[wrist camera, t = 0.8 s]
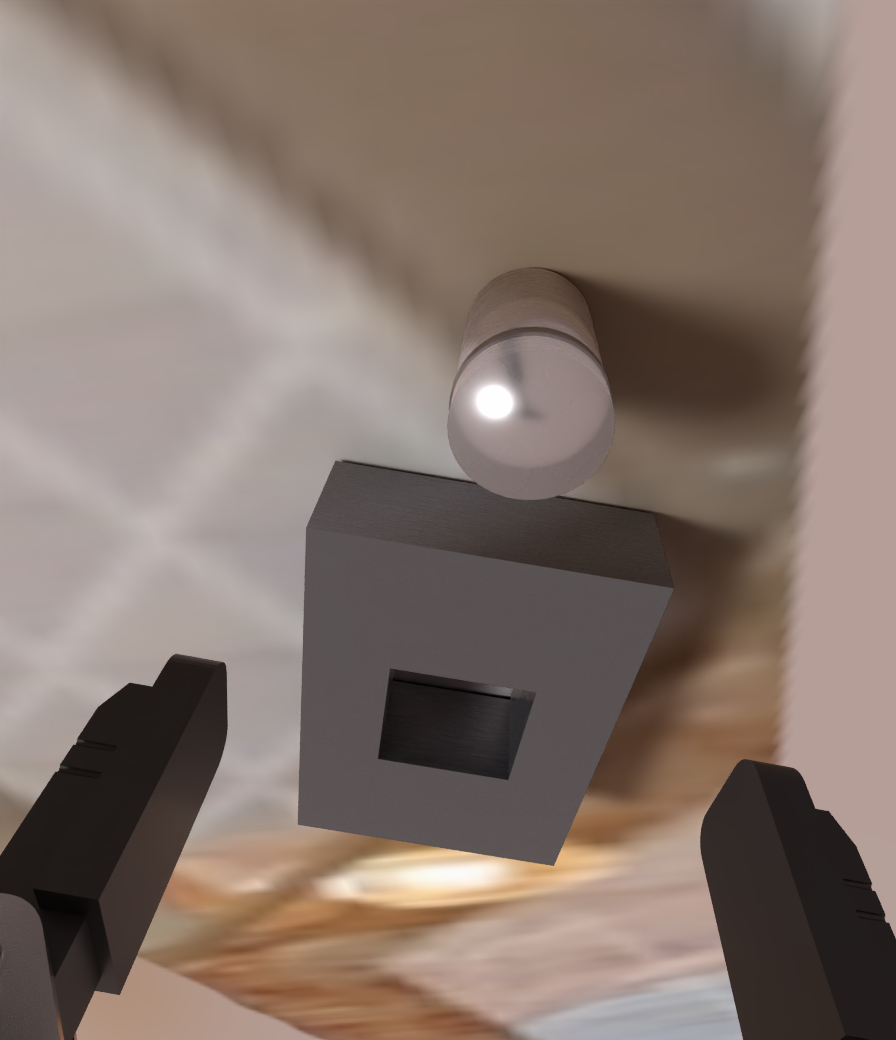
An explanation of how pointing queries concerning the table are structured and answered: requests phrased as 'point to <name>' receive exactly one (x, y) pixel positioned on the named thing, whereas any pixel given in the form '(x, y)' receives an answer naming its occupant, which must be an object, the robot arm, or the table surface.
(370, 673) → the grey block with hole
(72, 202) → the table surface
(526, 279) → the piston
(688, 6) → the table surface
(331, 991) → the table surface
